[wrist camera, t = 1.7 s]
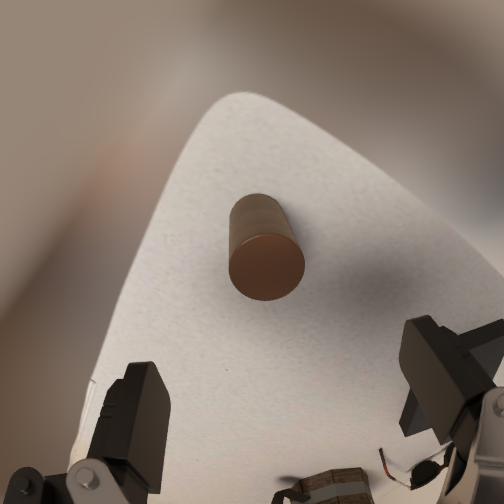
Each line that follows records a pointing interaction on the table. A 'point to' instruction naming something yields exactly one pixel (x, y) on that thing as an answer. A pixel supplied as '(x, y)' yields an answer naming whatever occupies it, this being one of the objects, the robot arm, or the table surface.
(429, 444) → the table surface
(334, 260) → the table surface
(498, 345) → the black board with hole
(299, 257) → the plug
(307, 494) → the mug
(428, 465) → the sunglasses
